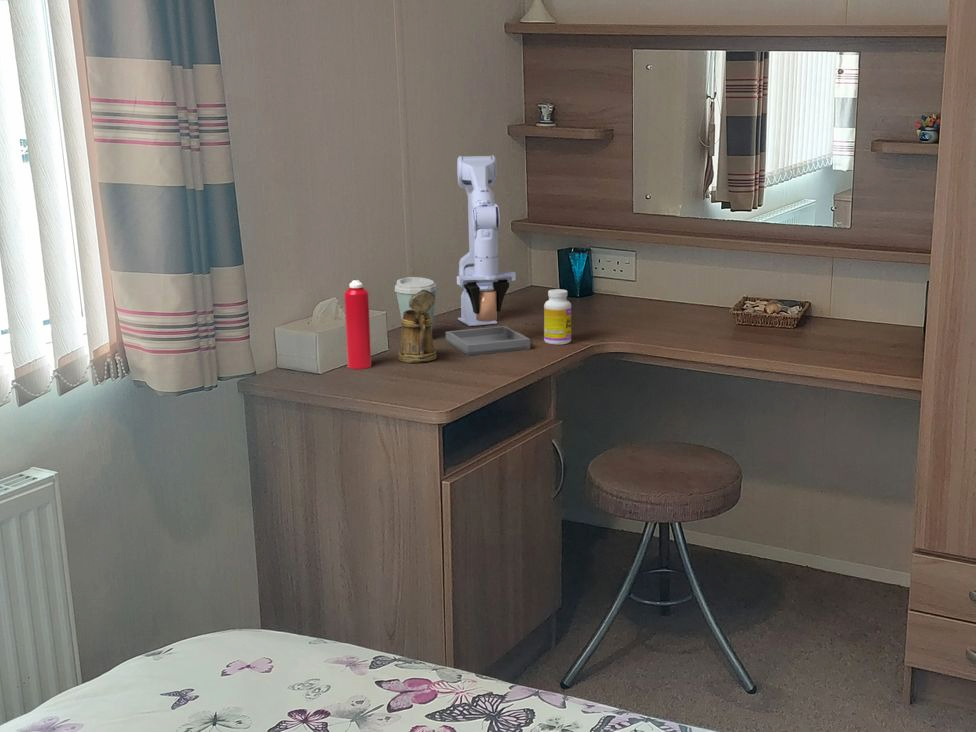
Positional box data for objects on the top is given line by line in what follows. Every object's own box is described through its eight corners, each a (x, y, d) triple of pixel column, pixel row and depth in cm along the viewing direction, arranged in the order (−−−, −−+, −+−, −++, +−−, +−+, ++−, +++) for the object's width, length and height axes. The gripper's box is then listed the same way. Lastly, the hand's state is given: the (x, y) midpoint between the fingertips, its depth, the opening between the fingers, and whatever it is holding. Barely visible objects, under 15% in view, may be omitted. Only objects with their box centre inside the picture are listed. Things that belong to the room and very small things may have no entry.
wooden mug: (406, 369, 266) (404, 291, 261) (394, 356, 278) (391, 281, 274) (445, 366, 268) (443, 288, 264) (430, 352, 281) (428, 278, 276)
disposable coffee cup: (447, 338, 295) (446, 279, 292) (416, 346, 288) (415, 285, 284) (417, 332, 302) (416, 274, 299) (387, 339, 295) (385, 280, 291)
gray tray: (445, 341, 292) (445, 331, 291) (505, 335, 297) (505, 325, 297) (467, 355, 277) (467, 345, 277) (530, 349, 283) (530, 339, 282)
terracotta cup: (474, 317, 288) (473, 289, 286) (494, 316, 289) (494, 288, 287) (478, 322, 283) (478, 293, 281) (499, 320, 284) (498, 292, 282)
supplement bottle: (569, 345, 286) (569, 293, 283) (542, 344, 287) (542, 293, 284) (572, 339, 292) (573, 288, 289) (546, 338, 293) (546, 288, 290)
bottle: (376, 366, 269) (372, 279, 264) (357, 370, 266) (353, 283, 261) (361, 362, 273) (358, 277, 268) (342, 366, 270) (338, 280, 265)
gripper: (463, 261, 276) (464, 317, 279) (520, 256, 281) (520, 312, 284) (453, 256, 282) (454, 312, 286) (509, 252, 287) (509, 307, 291)
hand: (486, 311), depth 285 cm, fingers closed on terracotta cup, 5 cm apart
